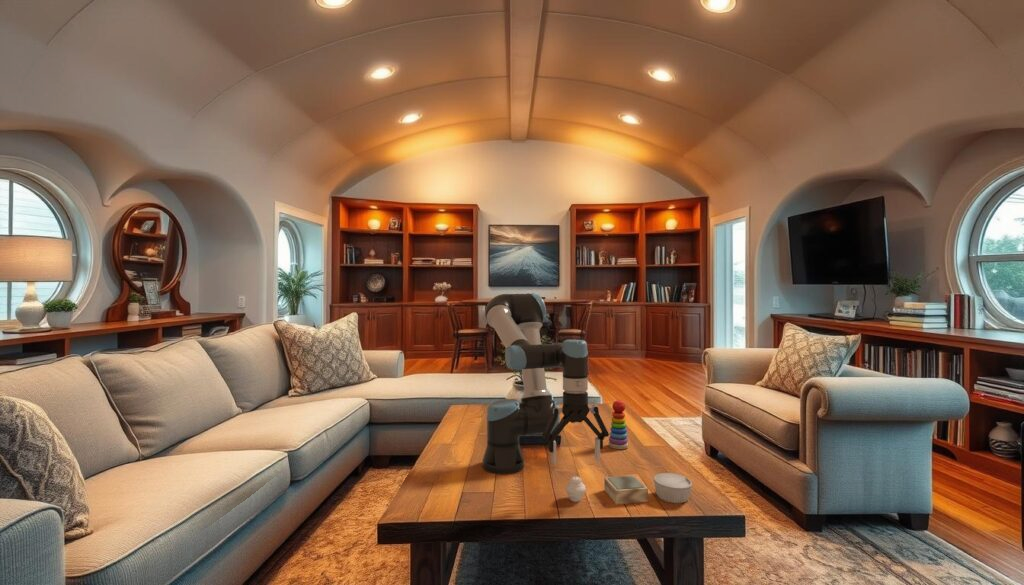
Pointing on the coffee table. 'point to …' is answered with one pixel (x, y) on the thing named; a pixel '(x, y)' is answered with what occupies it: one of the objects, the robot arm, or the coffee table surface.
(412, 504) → the coffee table surface
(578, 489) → the small white vase
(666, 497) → the ramekin
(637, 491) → the base block
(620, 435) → the stacking toy
